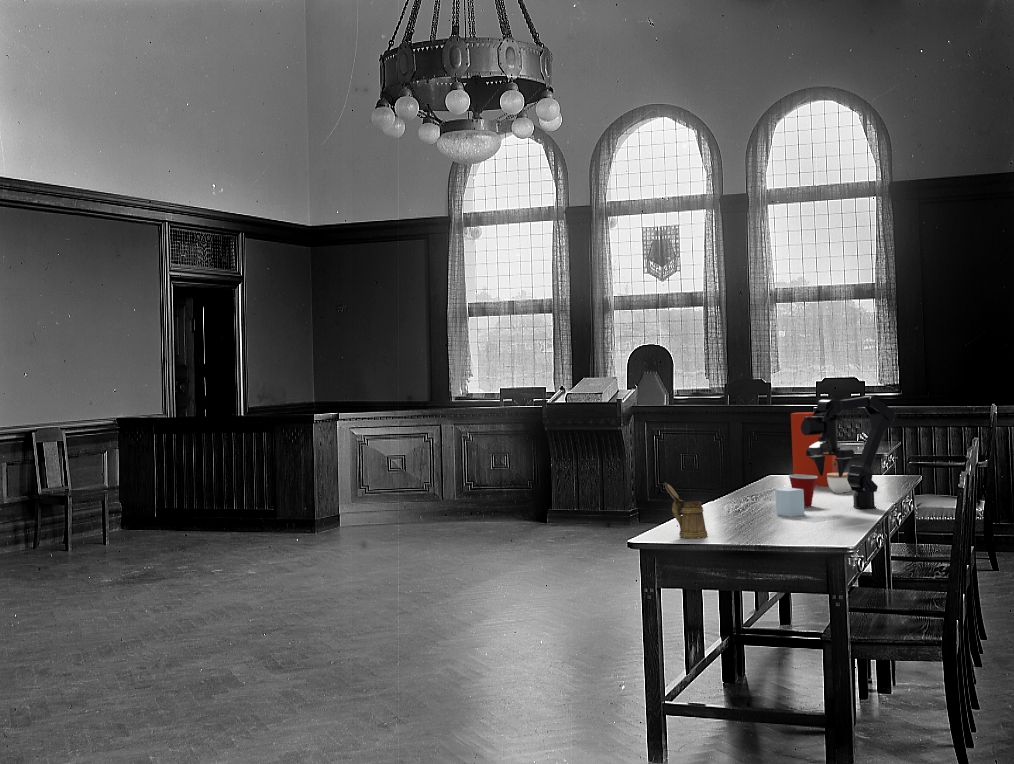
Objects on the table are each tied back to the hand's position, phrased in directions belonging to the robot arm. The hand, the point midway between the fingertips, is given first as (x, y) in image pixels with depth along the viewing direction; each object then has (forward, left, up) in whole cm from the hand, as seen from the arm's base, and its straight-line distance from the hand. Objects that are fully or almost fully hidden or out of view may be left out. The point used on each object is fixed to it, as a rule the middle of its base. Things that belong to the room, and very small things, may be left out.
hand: (830, 476), depth 399 cm
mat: (+13, +16, -13) cm, 24 cm away
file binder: (-24, -79, -13) cm, 84 cm away
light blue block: (+17, +3, -13) cm, 22 cm away
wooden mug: (+63, +33, -13) cm, 72 cm away
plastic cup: (+4, -18, -13) cm, 23 cm away
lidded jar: (-24, -51, -13) cm, 58 cm away
